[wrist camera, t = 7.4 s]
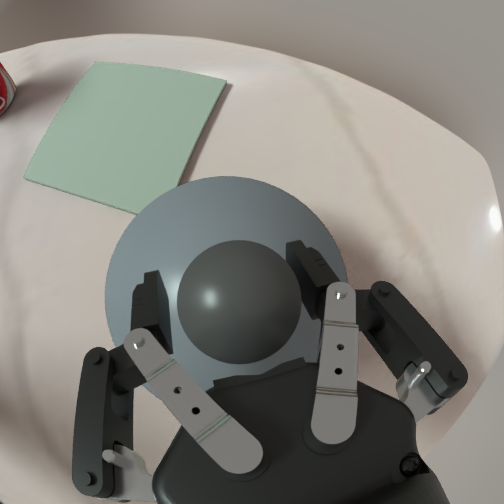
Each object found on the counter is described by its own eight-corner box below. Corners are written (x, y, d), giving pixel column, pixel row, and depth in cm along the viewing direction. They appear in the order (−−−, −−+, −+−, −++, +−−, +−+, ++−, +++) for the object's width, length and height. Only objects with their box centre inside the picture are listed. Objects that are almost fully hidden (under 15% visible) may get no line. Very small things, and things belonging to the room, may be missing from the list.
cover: (305, 431, 16) (352, 491, 9) (87, 369, 15) (24, 404, 7) (363, 224, 19) (433, 188, 12) (157, 155, 18) (132, 82, 10)
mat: (163, 223, 23) (162, 221, 23) (25, 179, 22) (22, 177, 21) (226, 83, 27) (226, 80, 26) (96, 64, 25) (94, 61, 25)
